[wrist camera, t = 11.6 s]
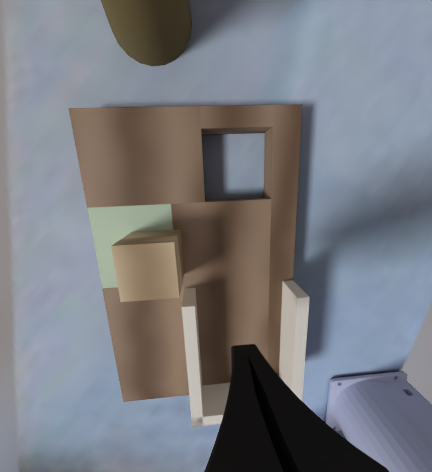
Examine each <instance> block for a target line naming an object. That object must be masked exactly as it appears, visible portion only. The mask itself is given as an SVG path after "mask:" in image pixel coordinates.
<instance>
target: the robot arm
mask: <svg viewBox="0 0 432 472" xmlns="http://www.w3.org/2000/svg"><path fill="white" fill-rule="evenodd" d="M406 379H407V374H406V373H404V372H403V371H399V372H389V373H380V374H371V375H361V376H352V377H343V378H334V379H332V380H331V381H330V386H329V395H328V404H327V413H326V422H324V421H323V420H321V419H320V418H319V417H318V416H317V415H316V414H315V413H314V412H313V411H312V410H310V409H309V408H308V407H307V406H306V405H305V404H304V403H303V402H302V401H301V400H300V399H299V398H298V397H297V396H296V395H295V394H294V393H293V391H292V390H291V389H290V388H289V387H288V386H287V385H286V384H285V383H284V381H283V380H282V379H281V378H280V377H279V375H278V374H277V373H276V372H275V371H274V369H273V368H272V367H271V366H270V364H269V363H268V362H267V360H266V359H265V357H264V356H263V355H262V353H261V352H260V350H259V349H258V347H257V346H256V345H255V344H247V345H235V346H232V347H231V381H230V387H229V392H228V398H227V402H226V407H225V411H224V415H223V418H222V422H221V425H220V429H219V432H218V435H217V439H216V441H215V444H214V447H213V450H212V453H211V456H210V459H209V461H208V464H207V466H206V469H205V471H204V472H432V405H431V404H430V403H429V402H428V401H427V400H426V399H425V398H424V397H423V396H422V395H421V394H420V393H419V392H418V391H417V390H416V389H415V388H413V386H411V385H410V384H409V383H408V382H407V381H406ZM341 430H342V432H343V434H344V435H345V437H346V439H347V440H346V439H345V438H343V437H342V436H341V435H339V434H338V433H337V432H336V431H341Z"/></svg>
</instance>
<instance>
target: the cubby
mask: <svg viewBox="0 0 432 472" xmlns="http://www.w3.org/2000/svg"><path fill="white" fill-rule="evenodd" d="M309 299H310V297H309V296H308V295H307V294H306V293H305V292H304V291H303V290H302V289H301V288H300V287H299V286H298V285H297V284H296V283H295V282H294V281H293V280H289V281H283V282H282V308H281V334H280V359H279V377H280V378H281V379H282V380H283V381H284V383H285V384H286V385H287V386H288V387H289V388H290V389H291V390H292V391H293V393H294V394H295V395H296V396H297V397H298V398H299V399H300V400H301V401H302V394H303V380H304V367H305V353H306V340H307V326H308V313H309ZM182 318H183V330H184V341H185V352H186V363H187V374H188V386H189V397H190V408H191V419H192V427H195V426H204V425H212V424H221V422H222V418H223V415H224V411H225V407H226V402H227V398H228V392H229V387H230V383H222V384H212V385H203V386H202V374H201V360H200V345H199V331H198V317H197V302H196V288H195V287H194V288H184V293H183V300H182Z"/></svg>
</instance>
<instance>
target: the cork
mask: <svg viewBox="0 0 432 472" xmlns="http://www.w3.org/2000/svg"><path fill="white" fill-rule="evenodd" d="M101 2H102V5H103V8H104V10H105V13H106V16H107V18H108V21H109V24H110V27H111V29H112V32H113V34H114V36H115V38H116V40H117V42H118V44H119V45H120V46H121V47H122V49H123V50H124V51H125V52H126V53H127V54H128V55H129V56H130V57H132V58H133V59H135V60H136V61H138V62H139V63H142V64H146V65H150V66H159V65H166V64H167V63H169V62H171V61H173V60H175V59H176V58H177V57H178V56H179V55H180V54H181V53H182V52H183V51H184V49H185V47H186V45H187V43H188V41H189V38H190V33H191V26H192V20H191V12H190V5H189V1H188V0H101Z"/></svg>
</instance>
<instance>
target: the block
mask: <svg viewBox="0 0 432 472" xmlns="http://www.w3.org/2000/svg"><path fill="white" fill-rule="evenodd" d="M111 249H112V255H113V261H114V267H115V273H116V278H117V284H118V290H119V296H120V302H129V301H143V300H156V299H170V298H180V293H181V288H182V283H183V278H184V265H183V253H182V242H181V230H180V229H179V230H161V231H144V232H131V233H130V234H128V235H127V236H125V237H124V238H122V239H121V240H119V241H118V242H116V243H115V244H113V245H112V246H111Z"/></svg>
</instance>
